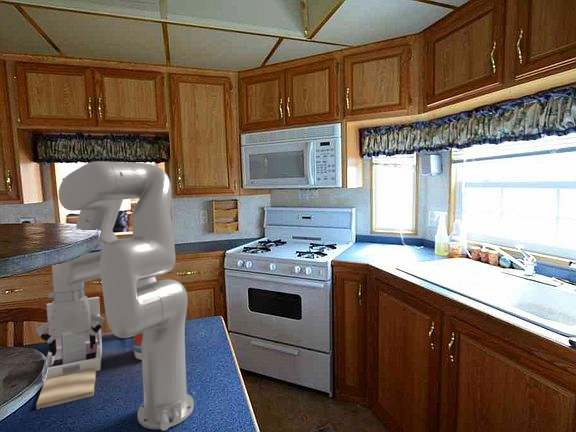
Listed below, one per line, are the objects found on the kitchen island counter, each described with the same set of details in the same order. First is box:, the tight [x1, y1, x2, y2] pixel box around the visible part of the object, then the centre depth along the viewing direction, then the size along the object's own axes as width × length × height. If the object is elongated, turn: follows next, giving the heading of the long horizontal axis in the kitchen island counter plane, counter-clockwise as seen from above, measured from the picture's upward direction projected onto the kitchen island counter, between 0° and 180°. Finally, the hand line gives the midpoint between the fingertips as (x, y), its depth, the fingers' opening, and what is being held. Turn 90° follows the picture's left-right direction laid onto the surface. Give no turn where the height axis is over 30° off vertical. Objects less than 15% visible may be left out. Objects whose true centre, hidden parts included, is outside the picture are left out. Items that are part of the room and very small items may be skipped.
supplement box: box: [61, 332, 87, 365], centre depth 103 cm, size 6×6×12 cm
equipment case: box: [45, 296, 103, 379], centre depth 103 cm, size 16×14×18 cm
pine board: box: [35, 369, 97, 410], centre depth 91 cm, size 12×12×1 cm
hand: (73, 350), depth 103 cm, fingers open, 9 cm apart
